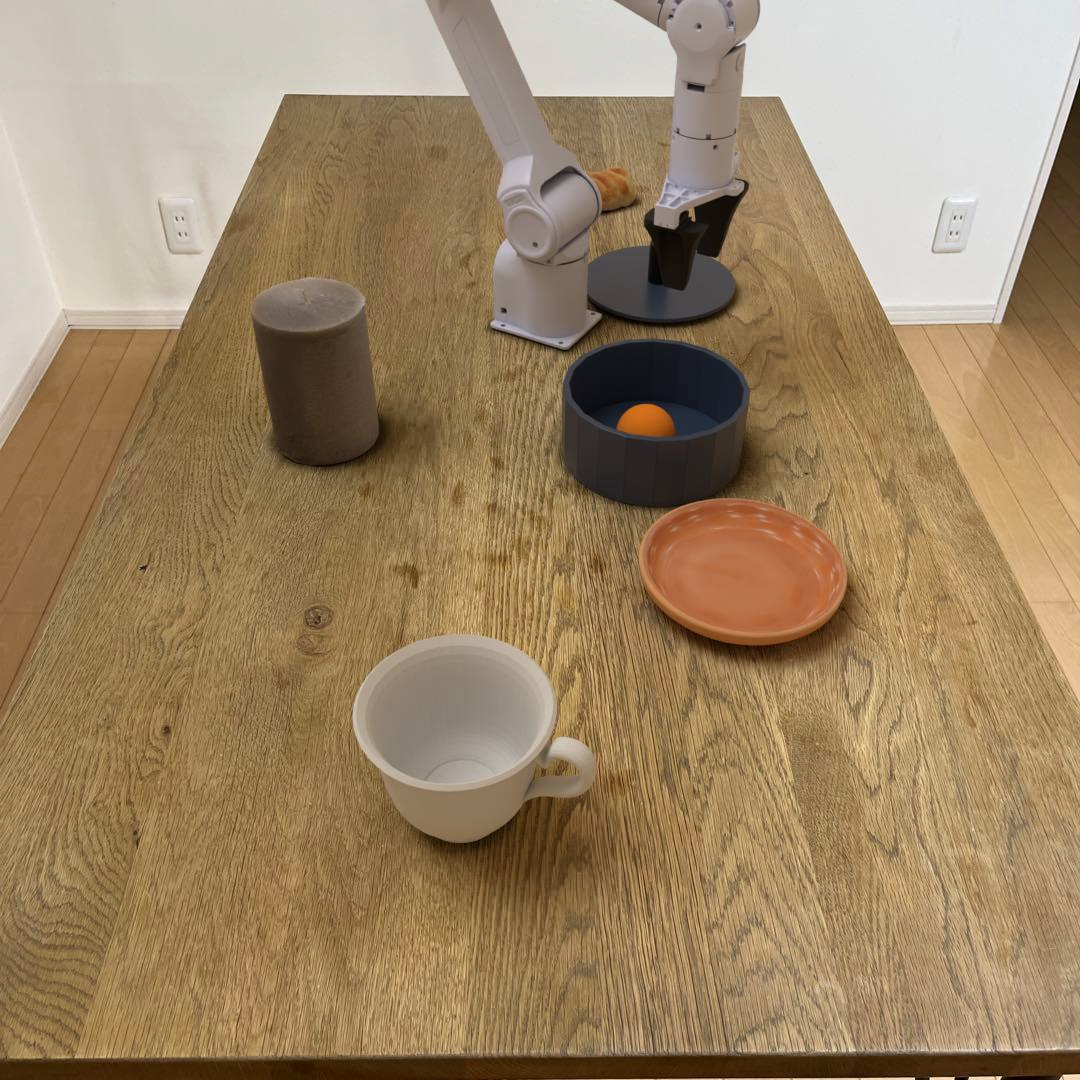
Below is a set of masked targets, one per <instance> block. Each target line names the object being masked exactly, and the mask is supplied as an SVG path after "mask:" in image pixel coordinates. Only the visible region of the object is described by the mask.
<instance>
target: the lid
mask: <svg viewBox="0 0 1080 1080" xmlns="http://www.w3.org/2000/svg"><path fill="white" fill-rule="evenodd" d="M736 286H737V283H736V280H735V277H734V274H733V273H732V272H731V271H730V269H728V268H727V267H726V265H724V264H723V263H722V262H720V261H718V260H717V259H716V258H713V257H709V256H705V255H701V254H697V251H696V253H695V256H694V260H693V265H692V270H691V274H690V279H689V282H688V284H687V287H686V289H685V290H683V291H680V290H676V289H672V288H668V287H664V285H663V281H662V276H661V271H660V266H659V261H658V256H657V252H656V249H655V246H654V244H653V241H652V239H651V240H650V242H649V245H634V246H628V247H623V248H618V249H615V250H611V251H608V252H606V253H603V254H601V255H599V256H598V257H596V258H594V259H593V260H591V261H590V262H588V283H587V300H589V301H590V302H592V304H594V305H596V306H597V307H598V308H600V309H602V310H604V311H606V312H608V313H610V314H613V315H615V316H619V317H621V318H624V319H629V320H635V321H639V322H647V323H658V324H659V323H661V324H667V323H668V324H670V323H671V324H672V323H683V322H690V321H696V320H698V319H703V318H706V317H708V316H712V315H713V314H716V313H718V312H720V311H721V310H723V309H724V308H725V307H726V306H728V305H729V304H730V302H732V301H733V298H734V296H735V294H736V288H737V287H736Z"/></svg>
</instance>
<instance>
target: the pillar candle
mask: <svg viewBox="0 0 1080 1080" xmlns="http://www.w3.org/2000/svg"><path fill="white" fill-rule="evenodd" d="M366 301H367V300H366V297H365V296H364V294H362V293H361V292H360V290H359V289H358V287H354V286H353V285H352V284H350V283H347V282H343V281H341V280H338V279H337V280H336V279H333V278H320V277H315V276H313V277H311V276H307V277H302V278H300V279H293V280H288V281H284V282H281V283H278V284H275V285H273V286H270V287H269V288H266V289H264V290H263V291H260V293H259V294H258V295H257V296H256V297H255V298H254V300H253V302H252V303H251V308H250V314H251V320H252V327H253V333H254V338H255V343H256V349H257V354H258V359H259V365H260V370H261V376H262V381H263V387H264V392H265V396H266V400H267V407H268V411H269V415H270V420H271V423H272V429H273V434H274V442H275V443H274V444H275V447H276V448H277V450H278V451H279V453H280V454H281V455H283V456H284V457H285V458H287V459H288V460H291V461H293V462H295V463H298V464H302V465H309V466H311V465H312V466H327V465H328V466H329V465H336V464H341V463H344V462H349V461H351V460H355V459H356V458H358V457H359V456H362V455H364V454H365V453H366V452H367V451H369V450H370V449H371V448H372V447H373V446H374V445H375V443H376V442H377V439H378V437H379V433H380V425H379V418H378V408H377V400H376V399H377V398H376V390H375V383H374V374H373V373H374V372H373V364H372V357H371V348H370V339H369V331H368V324H367V315H366V314H367V313H366Z"/></svg>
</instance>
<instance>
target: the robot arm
mask: <svg viewBox="0 0 1080 1080" xmlns="http://www.w3.org/2000/svg"><path fill="white" fill-rule="evenodd" d="M424 1H425V3H426V6H427V8H428V10H429V12H430V14H431V16H432V19H433V21H434V23H435V25H436V27H437V29H438V31H439V34H440V36H441V38H442V40H443V42H444V44H445V46H446V49H447V51H448V53H449V55H450V57H451V60H452V61H453V63H454V66H455V68H456V70H457V72H458V75H459V77H460V78H461V81H462V83H463V85H464V87H465V90H466V91H467V93H468V95H469V98H470V100H471V102H472V105H473V106H474V109H475V111H476V113H477V115H478V117H479V119H480V122H481V124H482V125H483V126H482V127H483V128H484V130H485V132H486V135H487V137H488V139H489V141H490V143H491V145H492V147H493V149H494V152H495V153H496V156H497V158H498V160H499V163H500V164H501V166H502V172H501V177H500V180H499V184H498V187H497V193H496V200H497V203H498V205H499V207H500V209H501V212H502V216H503V229H504V233H505V236H506V238H505V240H503V242H502V243H500V244H501V245H500V246H499V247H498V249H497V252H496V255H495V258H494V262H493V267H492V268H493V270H492V279H493V280H492V281H493V283H492V284H493V286H492V287H493V314H494V315H493V318H494V319H493V320H492V321H491V322H490V327H491V328H492V329H494V330H498V331H500V332H501V331H502V332H504V333H507V334H511V335H515V336H517V337H521V338H524V339H527V340H530V341H533V342H538V343H540V344H544V345H547V346H551V347H554V348H557V349H560V350H564V351H567V350H569V349H570V348H572V346H574V345H575V344H576V343H577V342H578V341H579V340H580V339H581V338H582V337H583V336H585V334H587V333H588V332H589V331H590V330H591V329H592V328H593V327H594V326H595V325H597V324H598V322H600V321H601V320H602V318H603V317H602V316H603V314H602V313H600V312H597V311H593V310H591V309H587V307H588V297H587V283H588V264H589V251H590V250H589V249H590V240H589V239H590V233H591V231H590V230H591V229H590V228H591V227H592V226H593V225H595V223H596V222H597V221H598V220H599V218H600V216H601V214H602V212H601V210H602V198H601V194H600V191H599V189H598V187H597V185H596V183H595V182H594V181H593V180H592V178H591V177H589V176H588V175H587V174H588V173H586V172H585V170H583V168H582V166H581V164H580V163H579V161H578V159H577V157H576V155H575V153H574V152H573V151H571V150H569V149H567V148H565V147H563V146H562V145H559V144H558V143H556V142H555V141H554V140H553V138H552V135H551V132H550V131H549V128H548V126H547V124H546V121H545V120H544V117H543V115H542V113H541V110H540V108H539V106H538V103H537V101H536V99H535V97H534V94H533V93H532V90H531V88H530V85H529V83H528V81H527V79H526V77H525V74H524V72H523V69H522V68H521V65H520V63H519V61H518V59H517V56H516V54H515V52H514V49H513V48H512V45H511V43H510V40H509V39H508V36H507V34H506V32H505V29H504V27H503V25H502V23H501V20H500V18H499V15H498V13H497V11H496V9H495V6H494V5H493V2H492V0H424ZM613 1H614V2H616V3H617V4H619V5H621V6H622V7H624V8H625V9H627V10H629V11H630V12H632V13H633V14H636V15H637V16H638V17H641V18H642V19H643V20H645V21H647V22H648V23H650V24H652V25H654V26H655V27H657V28H659V29H660V30H662V31H663V32H665V33H666V34H667V38H668V41H669V43H670V45H671V47H672V49H673V50H674V52H675V55H676V66H675V67H676V69H675V79H674V90H673V91H674V92H673V106H672V120H671V133H670V135H671V136H670V148H669V158H668V159H669V162H668V172H667V173H666V175H665V179H664V182H663V187H662V190H661V196H660V198H659V200H658V201H657V202H656V203H655V204H654V207H652V208H650V210H648V212H646V213H645V214H644V216H643V227H644V229H645V230H646V231H647V234H648V235H649V238H650V239H651V240H652V241H653V244H654V246H655V249H656V252H657V256H658V261H659V266H660V271H661V276H662V281H663V285H664V287H668V288H672V289H676V290H680V291H683V290H685V289H686V287H687V284H688V282H689V279H690V274H691V270H692V265H693V260H694V256H695V253H696V252H697V254H701V255H705V256H709V257H711V258H713V259H717V258H718V257H719V256H720V254H721V252H722V249H723V247H724V244H725V240H726V237H727V235H728V231H729V228H730V226H731V223H732V220H733V218H734V216H735V213H736V211H737V209H738V207H739V206H740V203H741V202H742V200H743V199H744V197H745V195H746V194H747V193H748V191H749V188H750V182H749V181H747V180H746V179H742V178H737V177H735V176H736V175H737V174H738V173H739V172H740V169H741V168H740V167H741V158H742V152H741V151H739V150H738V151H737V150H736V146H737V137H738V128H739V120H740V111H741V100H742V94H743V93H742V92H743V83H744V70H745V69H744V68H745V61H746V60H745V59H746V51H747V43H745V42H744V41H746V39H747V38H749V36H750V35H751V34H752V33H753V32H754V30H755V29H756V27H757V25H758V23H759V19H760V17H761V16H760V15H761V0H613ZM690 209H693V212H694V220H692V219H693V217H692V216H690Z"/></svg>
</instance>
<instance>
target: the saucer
mask: <svg viewBox="0 0 1080 1080" xmlns="http://www.w3.org/2000/svg"><path fill="white" fill-rule="evenodd" d="M638 568H639V575H640V578H641V581H642V584H643V586H644V589H645V591H646V592H647V594H648V595H649V598H650V599H651V600H652V601H653V603H654V604H655V605H656V606H657V607H658V608H659V609H660V610H661V611H662V612H663V613H664V614H665V615H666V616H668V617H669V618H670V619H672V620H673V621H675V622H676V623H678V624H679V625H681V626H682V627H684V628H686V629H688V630H689V631H691V632H694V633H695V634H698V635H700V636H703V637H705V638H709V639H711V640H714V641H719V642H723V643H727V644H733V645H739V646H768V645H777V644H782V643H783V644H784V643H787V642H790V641H794V640H797V639H800V638H803V637H805V636H807V635H810V634H812V633H813V632H815V631H817V630H818V629H820V628H822V627H823V626H824V625H825V624H826V623H827V622H829V621H830V619H831V618H832V617H833V616H834V615H835V613H836V612H837V611H838V609H839V607H840V605H841V603H842V601H843V599H844V597H845V594H846V591H847V586H848V570H847V566H846V562H845V559H844V557H843V555H842V553H841V551H840V550H839V548H838V547H837V545H836V543H835V542H834V541H833V540H832V538H830V537H829V536H828V534H826V533H825V531H823V530H822V529H821V528H819V526H817V525H816V524H815V523H813V522H811V520H809V519H807V518H805V517H803V516H802V515H800V514H798V513H795V512H793V511H791V510H789V509H786V508H784V507H781V506H778V505H776V504H772V503H768V502H766V501H765V502H764V501H759V500H754V499H746V498H734V497H733V498H732V497H731V498H730V497H729V498H728V497H726V498H725V497H723V498H711V499H703V500H699V501H696V502H692V503H688V504H683V505H680V506H679V507H677V508H674V509H672V510H670V511H668V512H667V513H665V514H664V515H662V516H661V517H659V518H658V519H657V520H656V521H655V522H654V523H652V524H651V526H650V527H649V528H648V529H647V530H646V532H645V533H644V535H643V537H642V540H641V542H640V546H639V550H638Z"/></svg>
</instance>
